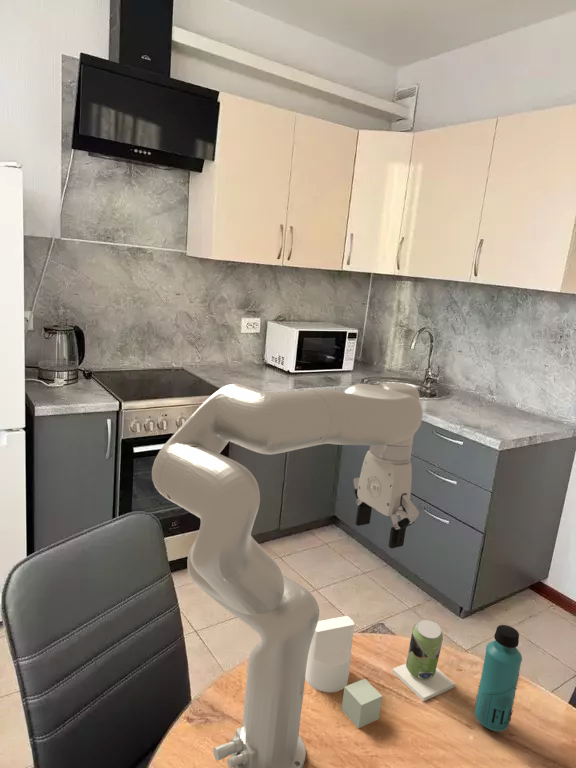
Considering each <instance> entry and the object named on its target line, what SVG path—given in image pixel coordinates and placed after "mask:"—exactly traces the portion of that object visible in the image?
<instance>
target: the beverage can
mask: <svg viewBox="0 0 576 768" xmlns="http://www.w3.org/2000/svg"><path fill="white" fill-rule="evenodd" d="M443 640H444V634H443V632H442V628H441V627H440V625H439V623H437V622H436V621H434V620H431V619H427V618H422V619H420V620H419V621H417V623H416V624H414V626H413V627H412V632H411V636H410V640H409V641H410V642H409V647H408V652H407V657H406V662H405V664H406V667H407V669H408V671H409V672H410V673H411V674H412V675H413V676H414V677H416V678H419V679H423V680H426V679H430V678H432V677H433V676H434V675H435V672H436V668H438V667H437V666H438V664H439V663H438V662H439V658H440V654H441V649H442V645H443Z"/></svg>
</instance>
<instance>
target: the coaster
mask: <svg viewBox="0 0 576 768" xmlns="http://www.w3.org/2000/svg"><path fill="white" fill-rule="evenodd" d="M392 673H393V675H395V676H396V677H397V678H398V679H399V680H400V681H401V682H402V683H403V684H404V685H405V686H406V687H408V689H410V690H411V691H412V692H413V693H414V695H416V696H417V697H418V698H419V699H420V700H421V701H422V702H425V701H427V700H429V699H432V698H433V697H436V696H439V695H440V694H443V693H445V692H448V691H450V690H451V689H455V687H456V683H455V682H454V681H453V680H452V679H451V678H449V677H448V676H447V675H446V674H445V673H444V672H443V671H441V670H440V669H439V668H438V667H436V672H435V675H434V676H433V677H432V678H430V679H426V680H423V679H419V678H416V677H414V676H413V675H412V674H411V673H410V672H409V671H408V669H407V667H406V663H403V664H401V665H398V666H396V667H393V668H392Z"/></svg>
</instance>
